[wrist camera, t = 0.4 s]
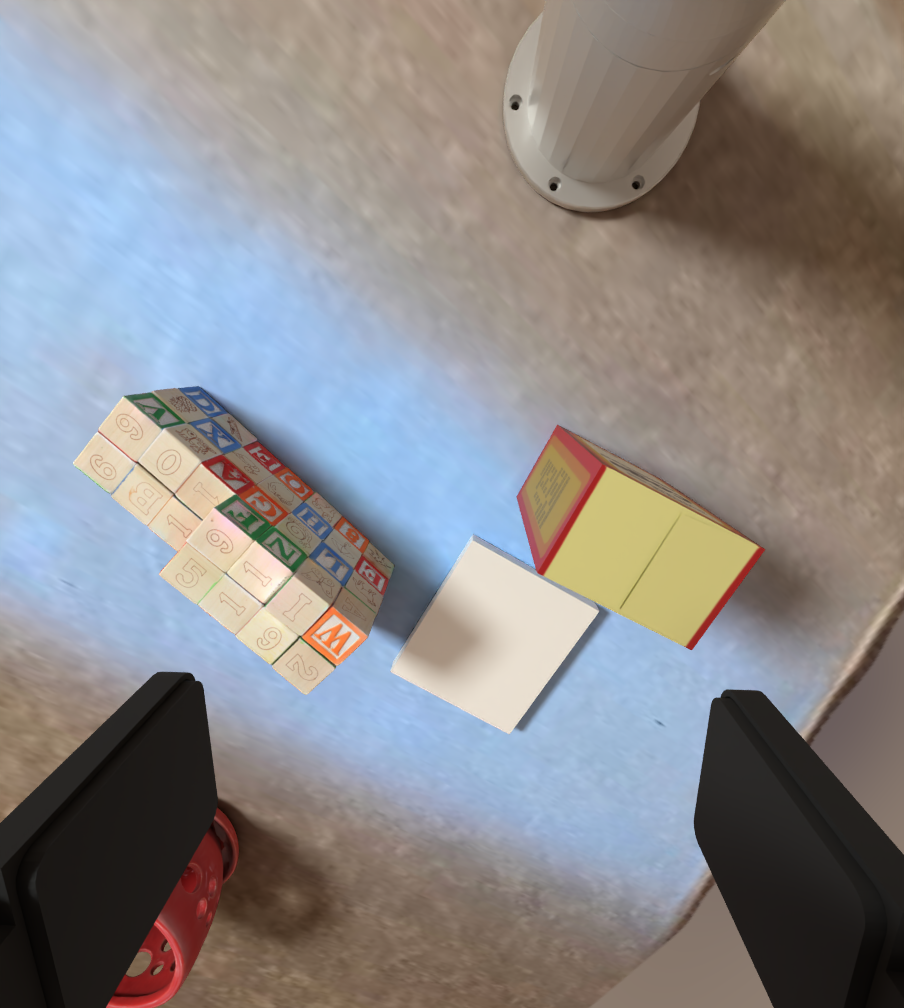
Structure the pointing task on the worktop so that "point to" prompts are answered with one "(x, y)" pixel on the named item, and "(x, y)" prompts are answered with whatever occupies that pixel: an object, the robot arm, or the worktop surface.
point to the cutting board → (493, 635)
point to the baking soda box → (630, 539)
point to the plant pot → (183, 920)
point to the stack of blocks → (241, 531)
